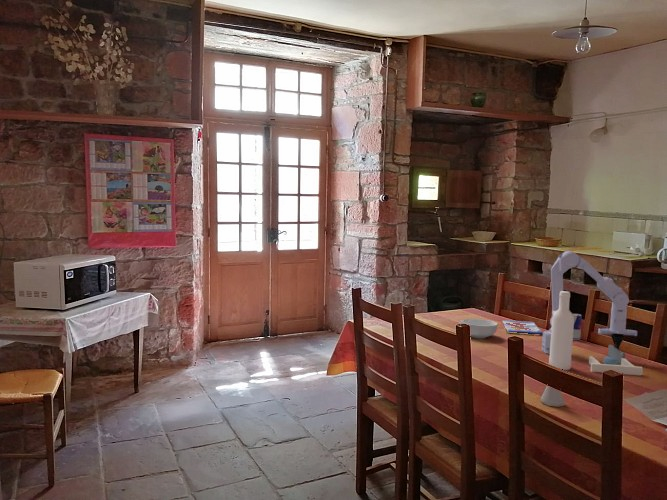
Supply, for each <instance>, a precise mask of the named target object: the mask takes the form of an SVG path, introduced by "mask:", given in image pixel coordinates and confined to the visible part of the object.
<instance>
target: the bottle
mask: <svg viewBox="0 0 667 500" xmlns="http://www.w3.org/2000/svg"><path fill="white" fill-rule="evenodd" d="M559 296H560V299H559V309H558V310H557V311H555V312H554V314H553V317H552V316H551V317H552V326H551V327H552V330H551V344H550V354H549V358H548V365H549V364H550V365H552V366H555V367H557V368H560V369H563V370H562V371H569V370H570V369H571V367H572V366H571V365H572V352H573V342H574V341H573V328H574V317H573V314H574V313H573V312H571V310H570V298H571V292H570V291H566V290H563V291H561V292H560V294H559Z"/></svg>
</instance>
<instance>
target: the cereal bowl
mask: <svg viewBox="0 0 667 500" xmlns="http://www.w3.org/2000/svg"><path fill="white" fill-rule="evenodd" d="M461 324H468V325H469V326H470V333H471V336H470V338H473V339H487V338H486V337H490V336H493V335H494V334H495V333H496V332H497V330H498V325H499V324H498V322H496V321H493V320H490V319H484V318H465V319H462V320H460V325H461Z"/></svg>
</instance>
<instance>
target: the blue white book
mask: <svg viewBox="0 0 667 500" xmlns="http://www.w3.org/2000/svg"><path fill="white" fill-rule="evenodd" d="M502 322H503V323H504V326H505V328H506V329H507V332H517V333H528V334H540V335H542V336H543V331H542V330H541V329H540V328H539V327H538V326H537V324H535V323H536V322H534V321H524V320H523V321H522V320H512V319H504V320H502V321H501V323H502ZM506 323H510V324H513V323H520V324H526V325H523V326H524V328H529V329H531V330H529V329H527V330H525V329H520V330H515V328H511V327H515V326H511V325H508V324H506ZM513 325H516V324H513ZM517 326H519V327H520V325H517ZM505 328H504V329H505ZM516 329H517V328H516ZM507 332H506V333H507Z"/></svg>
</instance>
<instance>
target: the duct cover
mask: <svg viewBox="0 0 667 500" xmlns="http://www.w3.org/2000/svg"><path fill="white" fill-rule="evenodd" d="M607 347H608V351H607V356H608V357H614V358H617V359H618V364H619V365H621V358H625V359H626V353H625V352H623V351H622V350H620V348H619V349H617V348H615V347H614V345H612V344H608V346H607Z"/></svg>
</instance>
